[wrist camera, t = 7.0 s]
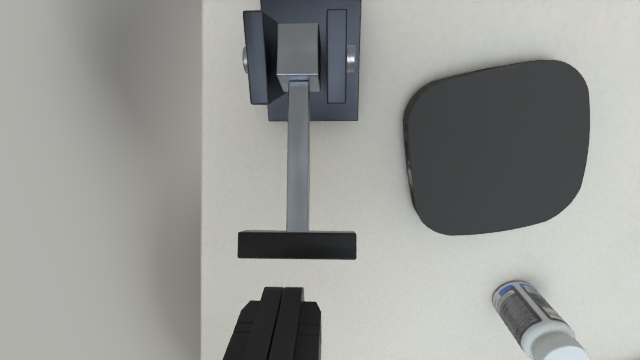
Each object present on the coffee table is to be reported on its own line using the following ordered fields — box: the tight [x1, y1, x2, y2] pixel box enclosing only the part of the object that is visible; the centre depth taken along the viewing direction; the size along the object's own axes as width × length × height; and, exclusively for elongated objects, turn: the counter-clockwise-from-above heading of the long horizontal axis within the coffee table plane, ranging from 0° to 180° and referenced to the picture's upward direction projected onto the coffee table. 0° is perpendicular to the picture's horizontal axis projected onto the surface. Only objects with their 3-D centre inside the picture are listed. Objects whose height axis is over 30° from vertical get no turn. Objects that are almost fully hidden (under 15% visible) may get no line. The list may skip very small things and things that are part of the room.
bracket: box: [243, 0, 361, 121], centre depth 22 cm, size 10×8×13 cm
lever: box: [238, 23, 356, 260], centre depth 17 cm, size 12×6×2 cm, turn 1°
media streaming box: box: [403, 60, 590, 236], centre depth 28 cm, size 15×15×3 cm
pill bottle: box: [493, 282, 589, 360], centre depth 31 cm, size 5×5×8 cm
